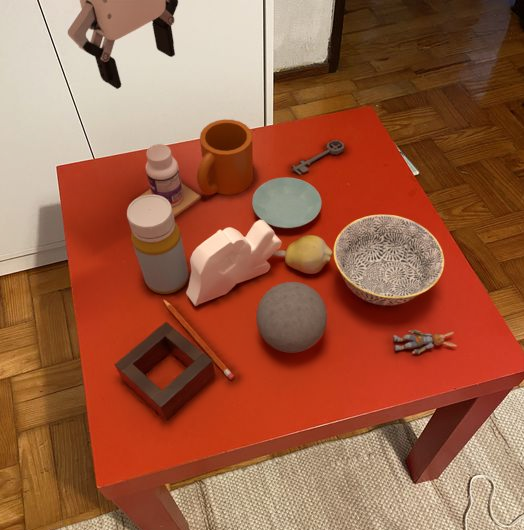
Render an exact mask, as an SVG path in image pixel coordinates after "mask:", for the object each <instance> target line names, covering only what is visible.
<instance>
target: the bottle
mask: <svg viewBox="0 0 524 530" xmlns="http://www.w3.org/2000/svg"><path fill="white" fill-rule="evenodd" d="M140 196H141V195H140ZM138 197H139V196H138ZM138 197H136V198H135V199H134V200H132V201H131V203H130V204H129V205H128V207H127V208H126V209H127V210H126V218H127V222H128V224H129V227H130V230H131V233H130V234H131V235H130V238H131V239H130V240H131V242H132V246H133V249H134V252H135V255H136V258H137V261H138V264H139V267H140V270H141V273H142V277H143V279H144V282H145V284H146V286H147V287H148V288H149V290H151V291H152V292H154V293H156V294H161V295H163V294H164V295H169V294H172V293H173V294H174V293H176V292H177V291H180V290H181V289H183V287H184V286H186V284H187V283H188V280H189V277H190V275H189V274H190V273H189V267H188V262H187V257H186V253H185V248H184V243H183V239H182V233H181V230H180V227H179V225H178V223H177V222H176V221H175V218H174V215H173V211H172V207H171V204H170V203H169V201H168V200H167V199H166V198H164V197H162V196H159V195H144V196H141V197H139V198H138Z"/></svg>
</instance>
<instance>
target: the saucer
mask: <svg viewBox="0 0 524 530" xmlns="http://www.w3.org/2000/svg"><path fill="white" fill-rule="evenodd" d="M251 203H252V204H251V205H252V209H253V212H254V213H255V215H256V216H257V217H258V218H260V219H259V220H264V221H265V222H266V223H267V224H268V225H269V226H273V227H276V228H281V229H293V228H299V227H303V226H305V225H307V224H310V223H311V222H312V221H313V220H314V219H315V218H316V217H317V216H318V215H319V213H320V212H321V209H322V204H323V203H322V197H321V195H320V192H319V191H318V190H317V189H316V188H315V187H314V186H313V185H312V184H311V183H309V182H307V181H305V180H303V179H299V178H295V177H276V178H273V179H270V180H268V181H266V182H264V183H262V184H261V185H259V187H257V189H256V190H255V191H254V193H253V195H252V200H251Z"/></svg>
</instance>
